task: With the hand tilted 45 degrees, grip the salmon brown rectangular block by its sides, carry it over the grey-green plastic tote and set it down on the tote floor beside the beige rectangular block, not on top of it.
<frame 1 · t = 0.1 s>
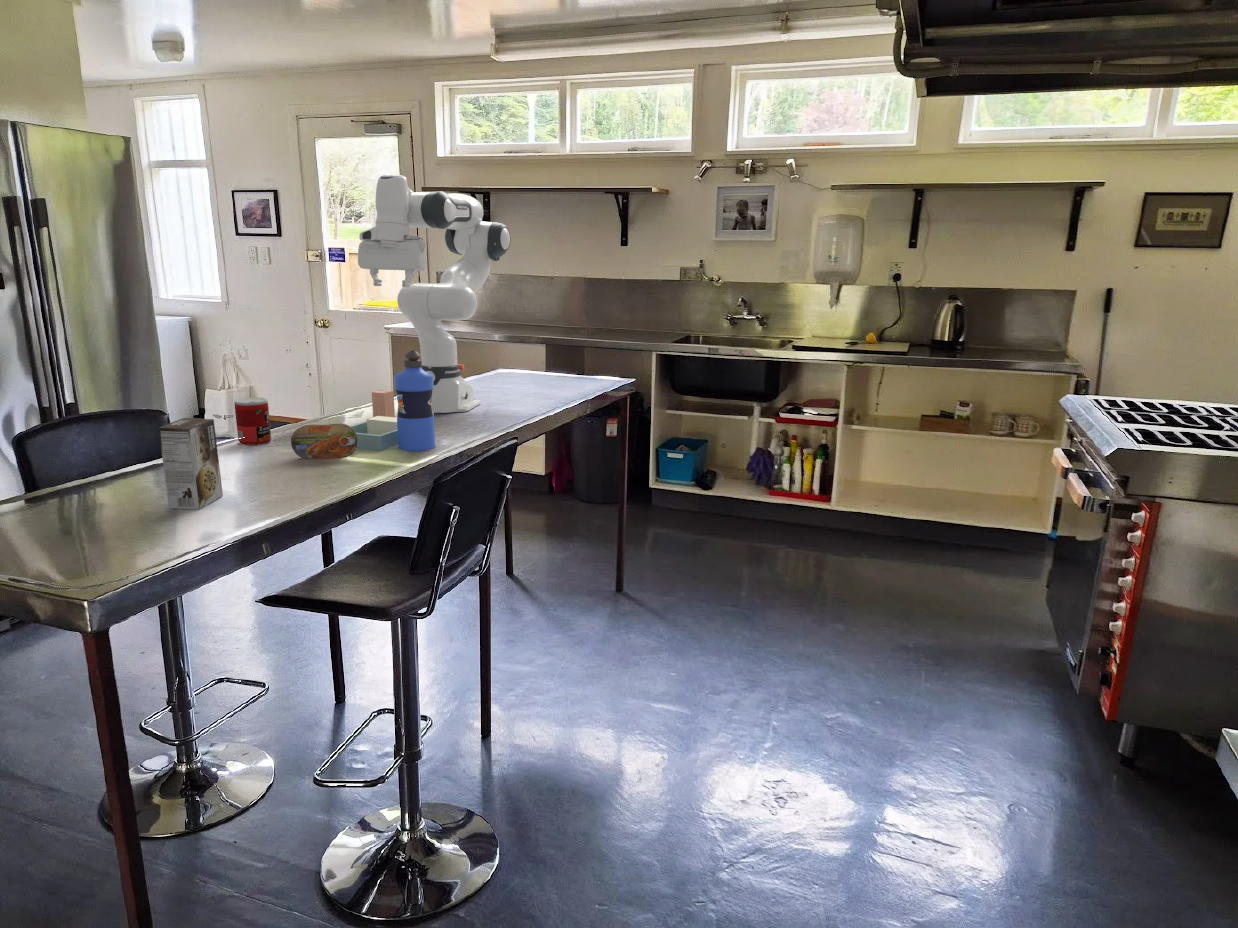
hand: (391, 286, 225), 39 cm above the table, tool pointing down, fingers open, 8 cm apart
salmon brown rectangular block: (384, 430, 225), on the table
canned food: (255, 442, 209), on the table
tin: (326, 458, 195), on the table
water bottle: (417, 450, 204), on the table
beige rectangular block: (388, 437, 213), point 1 cm above the table, touching tote
tote: (379, 443, 210), on the table
cookie box: (196, 503, 159), on the table
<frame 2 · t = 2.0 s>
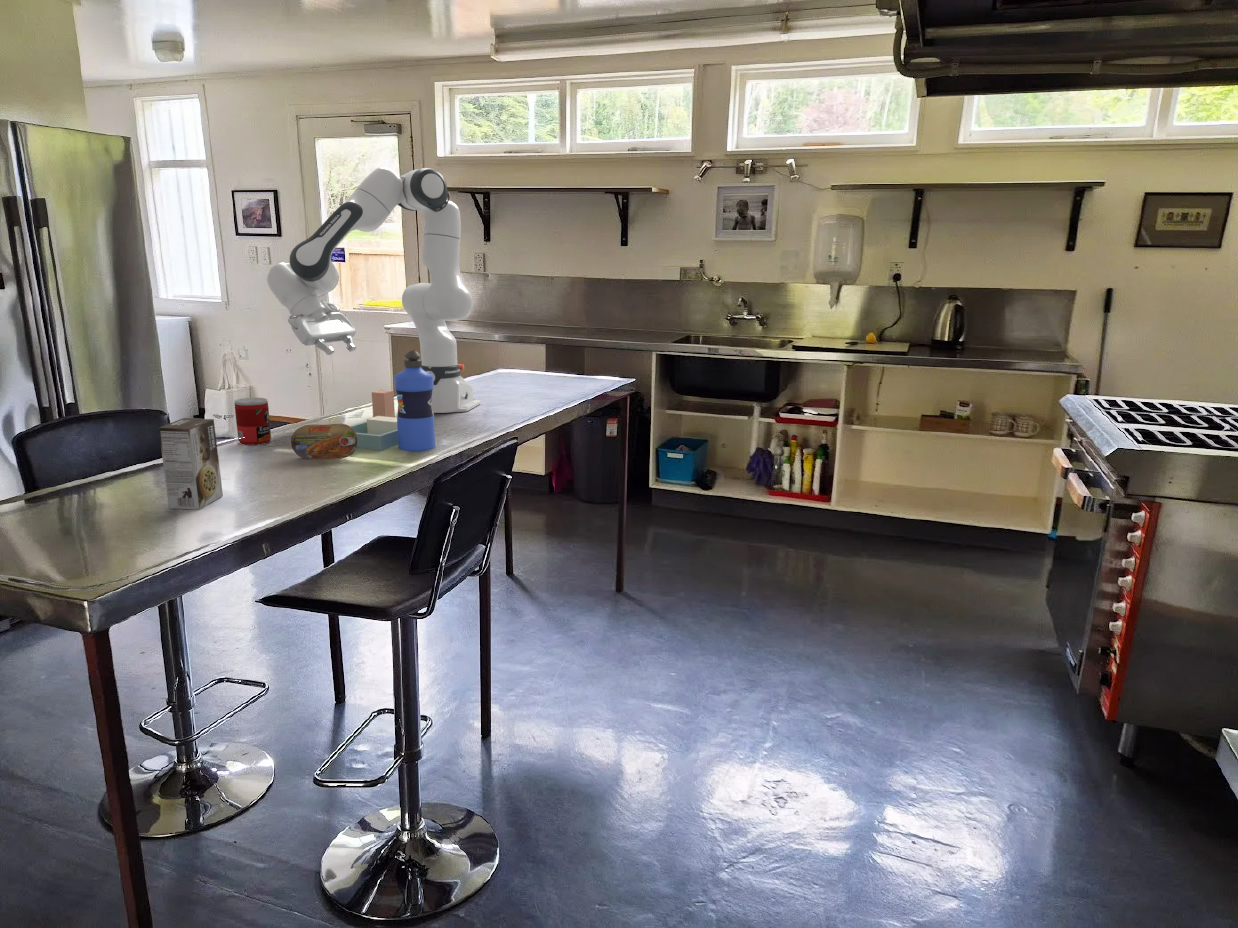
hand: (342, 351, 223), 21 cm above the table, tool tilted 45°, fingers open, 8 cm apart
nothing on the table moved.
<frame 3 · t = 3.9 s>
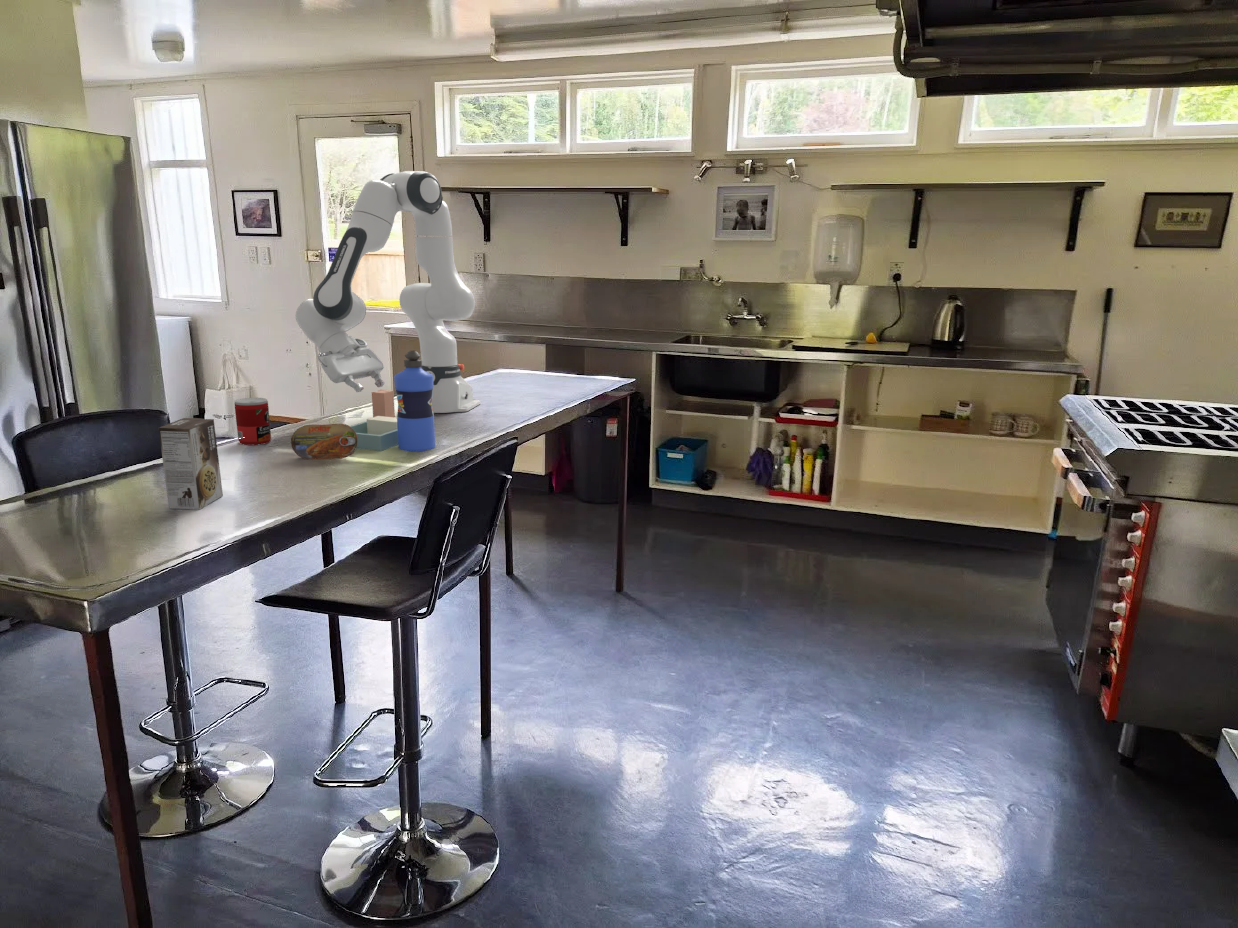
hand: (371, 388, 223), 12 cm above the table, tool tilted 45°, fingers open, 8 cm apart
nothing on the table moved.
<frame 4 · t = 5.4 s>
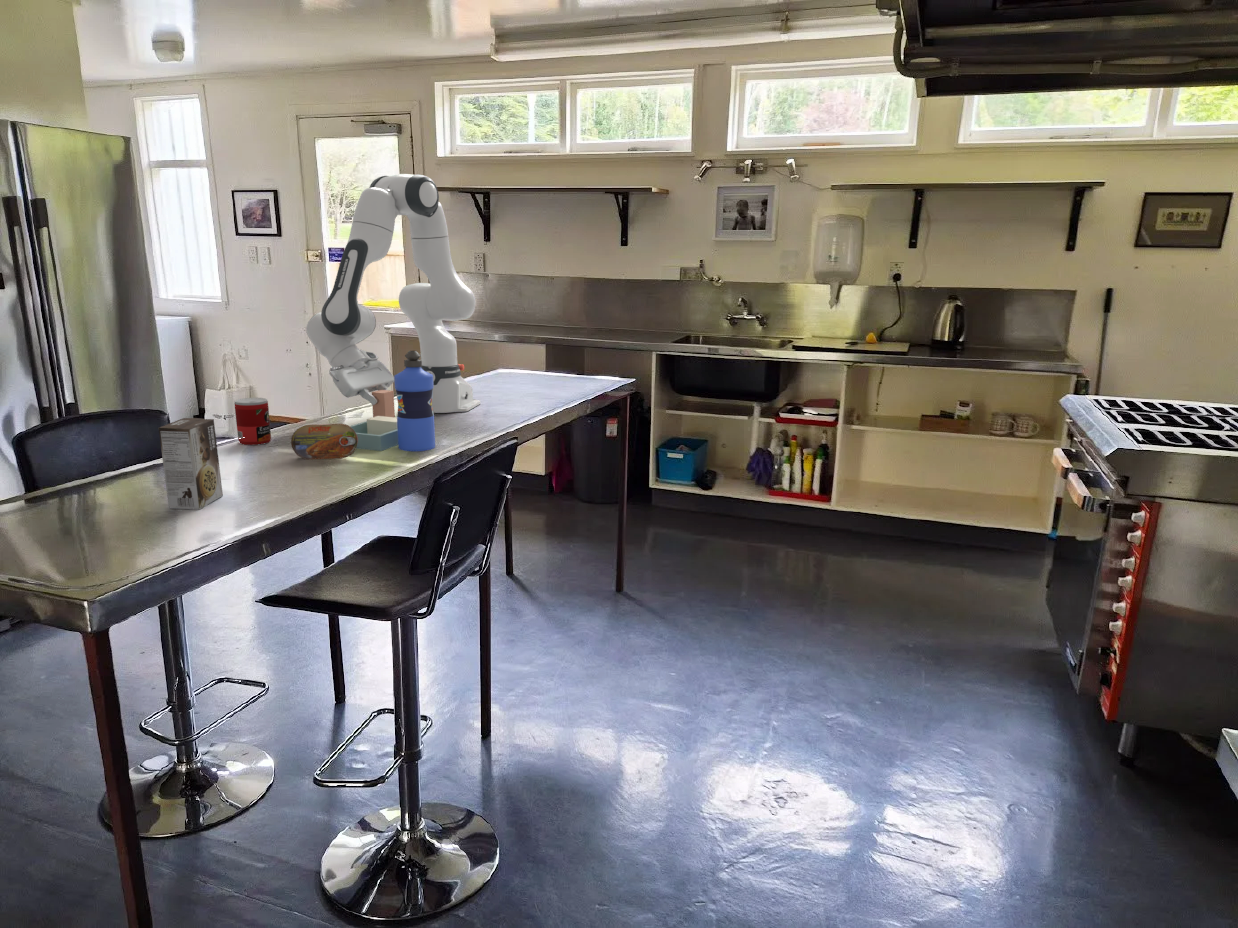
hand: (382, 401, 223), 8 cm above the table, tool tilted 45°, fingers closed on salmon brown rectangular block, 4 cm apart
salmon brown rectangular block: (384, 430, 225), on the table, touching gripper
everything else where it was.
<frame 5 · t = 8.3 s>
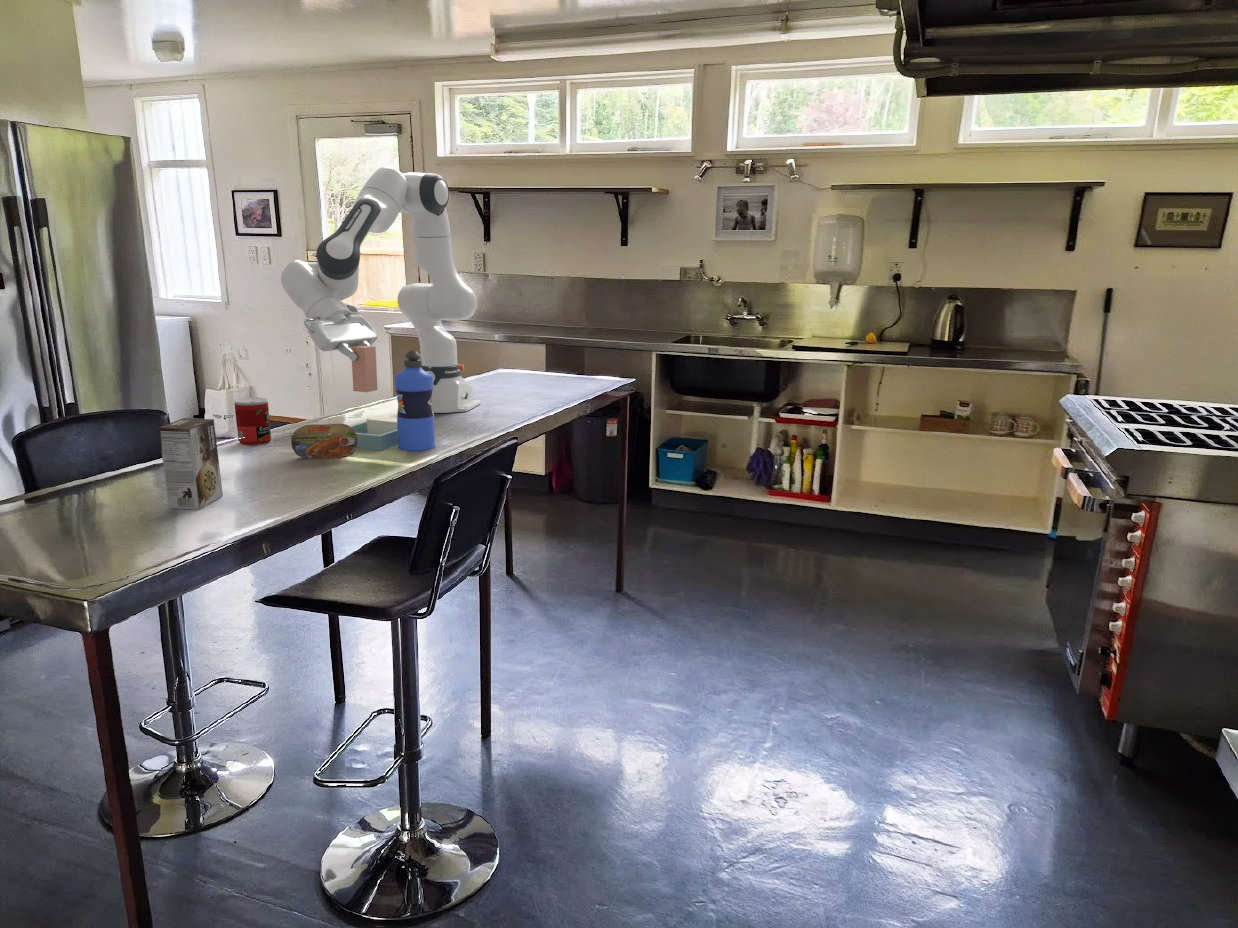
hand: (363, 358, 202), 22 cm above the table, tool tilted 45°, fingers closed on salmon brown rectangular block, 4 cm apart
salmon brown rectangular block: (365, 390, 204), point 14 cm above the table, touching gripper
everything else where it was.
when the fingers open (10 cm above the table, at t = 11.0 s): salmon brown rectangular block drops 1 cm, resting on tote.
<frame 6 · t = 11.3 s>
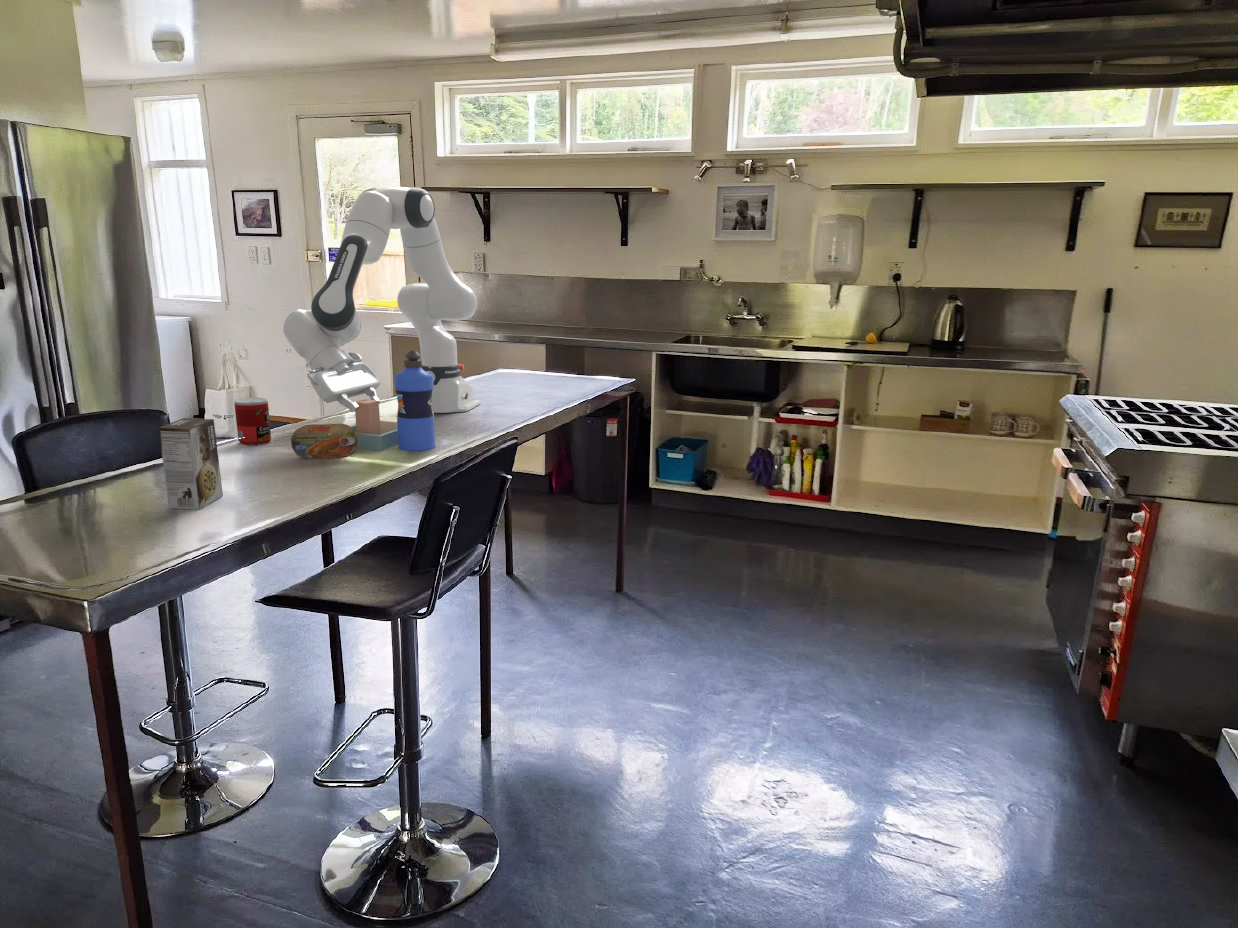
hand: (367, 407, 203), 10 cm above the table, tool tilted 45°, fingers open, 8 cm apart
salmon brown rectangular block: (369, 443, 206), point 1 cm above the table, touching tote
everything else where it was.
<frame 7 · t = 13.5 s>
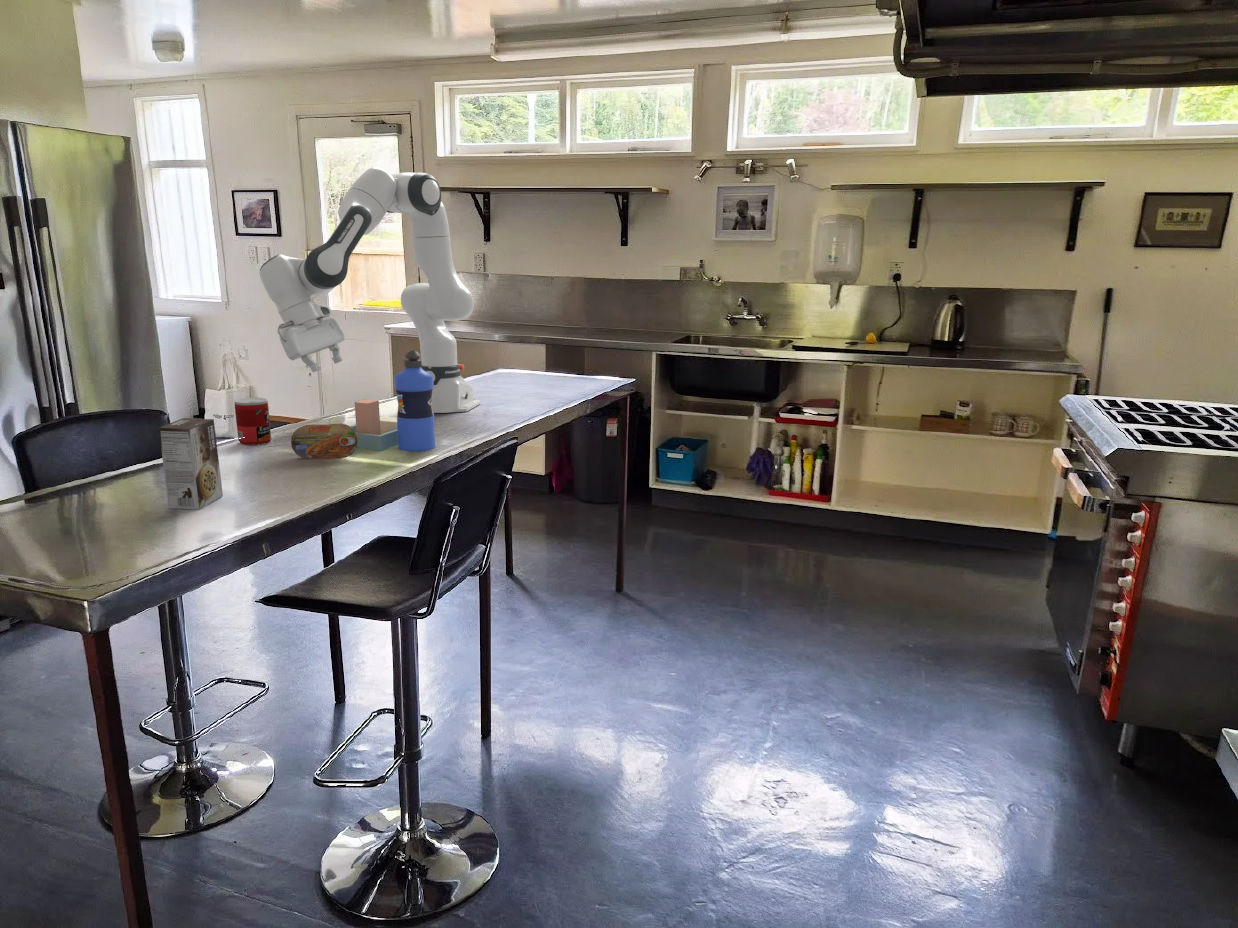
hand: (328, 366, 211), 19 cm above the table, tool tilted 25°, fingers open, 8 cm apart
nothing on the table moved.
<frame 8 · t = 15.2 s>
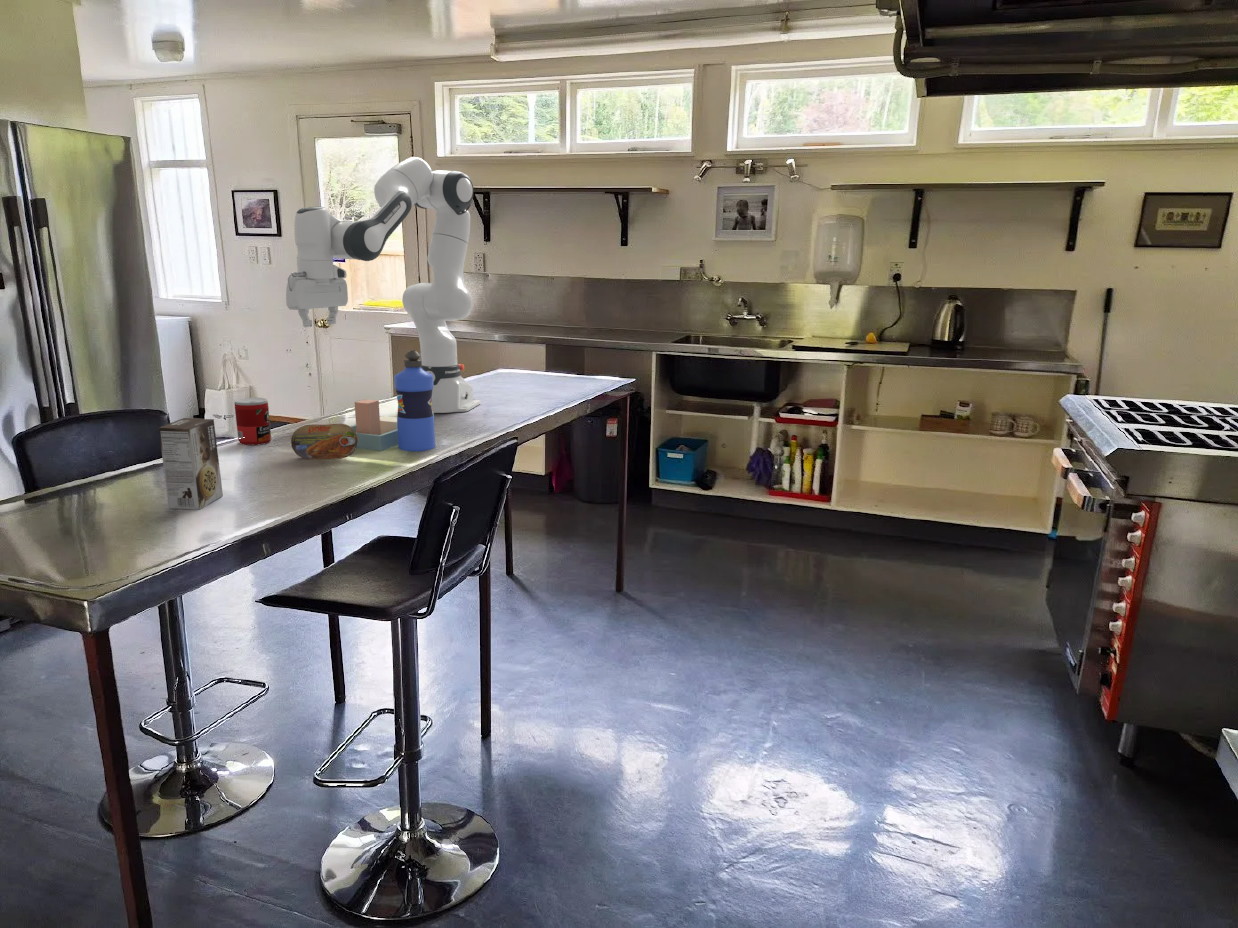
hand: (319, 325, 213), 29 cm above the table, tool pointing down, fingers open, 8 cm apart
nothing on the table moved.
at the end: salmon brown rectangular block inside the target area (0.1 cm from its centre), point 0.8 cm above the table; salmon brown rectangular block tilted 0°; the gripper is holding nothing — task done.
